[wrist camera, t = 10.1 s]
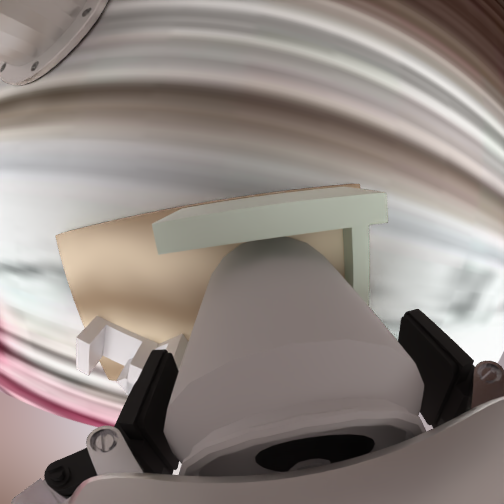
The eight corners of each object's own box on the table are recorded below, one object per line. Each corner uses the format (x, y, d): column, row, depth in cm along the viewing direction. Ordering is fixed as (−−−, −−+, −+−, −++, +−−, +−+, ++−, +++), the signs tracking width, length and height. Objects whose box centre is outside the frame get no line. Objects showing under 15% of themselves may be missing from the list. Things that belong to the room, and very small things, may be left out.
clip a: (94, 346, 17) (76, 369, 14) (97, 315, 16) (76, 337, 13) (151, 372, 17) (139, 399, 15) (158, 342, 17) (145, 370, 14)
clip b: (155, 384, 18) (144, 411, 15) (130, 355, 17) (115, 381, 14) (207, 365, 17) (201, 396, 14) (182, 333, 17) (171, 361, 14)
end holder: (182, 208, 14) (151, 223, 10) (355, 185, 14) (400, 191, 9) (221, 379, 18) (216, 433, 13) (356, 358, 17) (381, 405, 13)
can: (346, 242, 15) (501, 371, 4) (316, 350, 17) (372, 512, 5) (215, 223, 15) (120, 375, 3) (204, 339, 17) (165, 517, 5)
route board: (63, 232, 16) (55, 235, 15) (353, 183, 15) (359, 184, 14) (113, 372, 19) (109, 380, 18) (355, 350, 18) (360, 357, 17)
